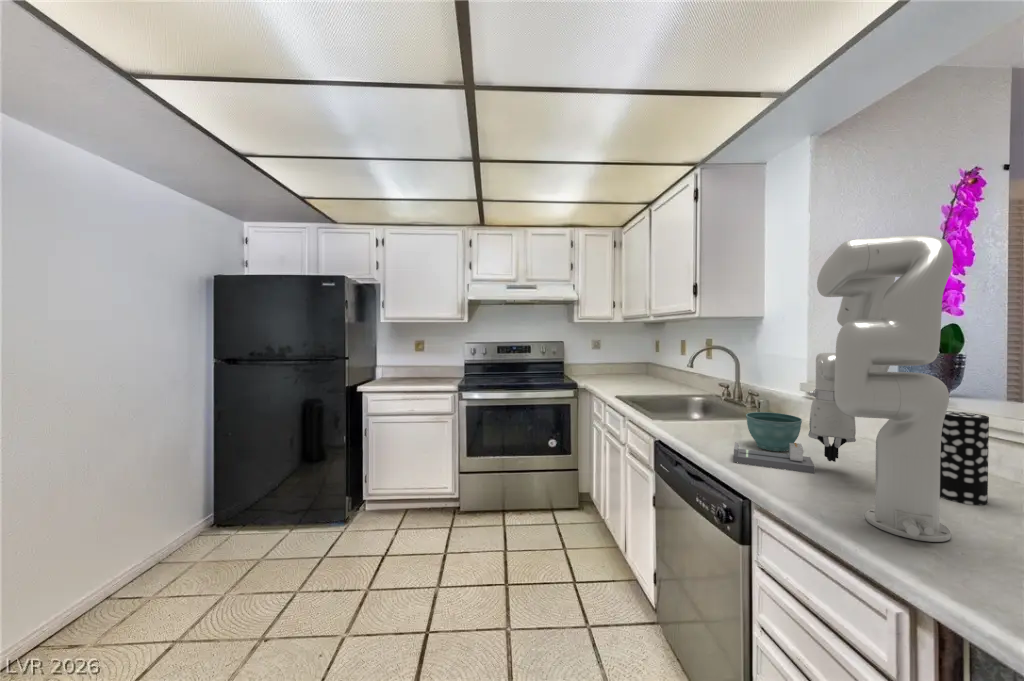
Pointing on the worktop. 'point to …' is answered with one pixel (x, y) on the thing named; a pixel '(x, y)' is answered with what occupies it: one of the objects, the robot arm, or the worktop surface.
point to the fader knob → (796, 452)
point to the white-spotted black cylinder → (964, 458)
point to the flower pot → (773, 430)
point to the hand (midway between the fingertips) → (831, 460)
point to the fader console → (772, 460)
